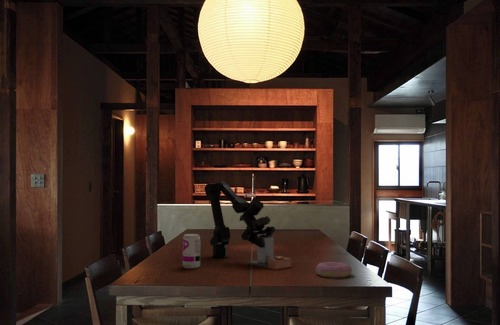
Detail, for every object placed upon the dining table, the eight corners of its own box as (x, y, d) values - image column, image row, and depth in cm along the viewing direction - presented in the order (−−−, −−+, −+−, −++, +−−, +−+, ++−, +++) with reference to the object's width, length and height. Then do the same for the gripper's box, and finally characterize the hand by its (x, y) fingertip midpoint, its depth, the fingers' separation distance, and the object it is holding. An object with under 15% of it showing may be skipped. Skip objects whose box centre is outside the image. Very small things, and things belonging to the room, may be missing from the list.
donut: (327, 280, 207) (327, 267, 207) (308, 273, 221) (308, 262, 221) (359, 277, 213) (359, 265, 213) (339, 271, 227) (339, 259, 227)
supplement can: (186, 269, 230) (186, 236, 231) (180, 266, 238) (180, 234, 238) (202, 267, 234) (203, 235, 234) (196, 264, 241) (196, 233, 242)
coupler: (247, 264, 243) (247, 253, 243) (262, 261, 249) (262, 251, 250) (275, 269, 229) (275, 258, 229) (290, 267, 236) (290, 256, 236)
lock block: (256, 262, 241) (257, 235, 242) (265, 261, 245) (265, 234, 246) (265, 263, 237) (265, 236, 238) (273, 262, 241) (274, 235, 241)
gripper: (245, 211, 238) (261, 237, 230) (272, 210, 251) (289, 234, 243) (234, 227, 244) (249, 252, 235) (261, 224, 256) (277, 249, 248)
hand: (267, 246), depth 240 cm, fingers open, 6 cm apart
